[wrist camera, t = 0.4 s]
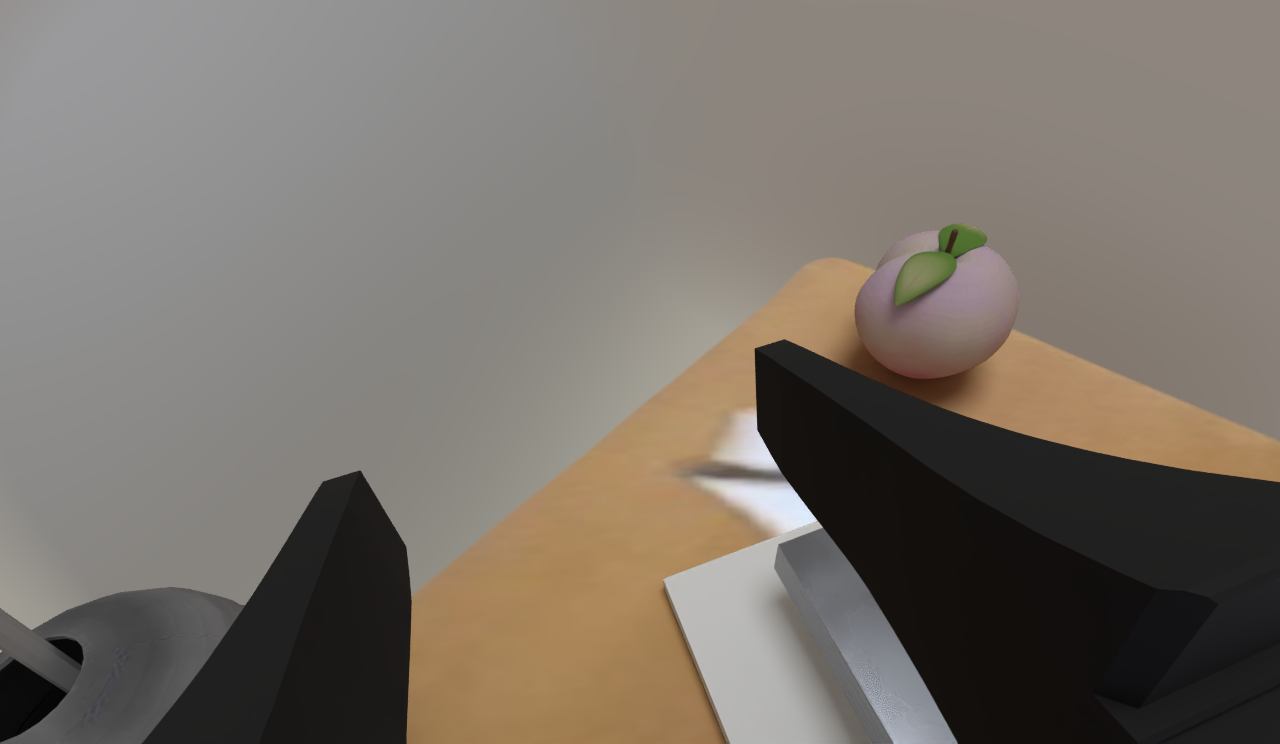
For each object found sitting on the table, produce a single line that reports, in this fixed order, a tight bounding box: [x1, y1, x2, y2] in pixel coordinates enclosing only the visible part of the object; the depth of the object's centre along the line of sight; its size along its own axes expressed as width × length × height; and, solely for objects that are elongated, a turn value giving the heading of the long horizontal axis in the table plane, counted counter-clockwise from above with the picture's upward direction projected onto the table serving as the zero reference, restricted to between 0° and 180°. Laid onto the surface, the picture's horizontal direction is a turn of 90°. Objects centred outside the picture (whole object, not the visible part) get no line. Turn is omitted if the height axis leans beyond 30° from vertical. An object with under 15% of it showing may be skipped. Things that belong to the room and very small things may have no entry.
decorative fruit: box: [855, 224, 1019, 379], centre depth 35 cm, size 9×8×10 cm
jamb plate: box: [663, 521, 872, 744], centre depth 24 cm, size 20×21×1 cm
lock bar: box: [774, 528, 958, 744], centre depth 20 cm, size 15×3×2 cm, turn 20°
